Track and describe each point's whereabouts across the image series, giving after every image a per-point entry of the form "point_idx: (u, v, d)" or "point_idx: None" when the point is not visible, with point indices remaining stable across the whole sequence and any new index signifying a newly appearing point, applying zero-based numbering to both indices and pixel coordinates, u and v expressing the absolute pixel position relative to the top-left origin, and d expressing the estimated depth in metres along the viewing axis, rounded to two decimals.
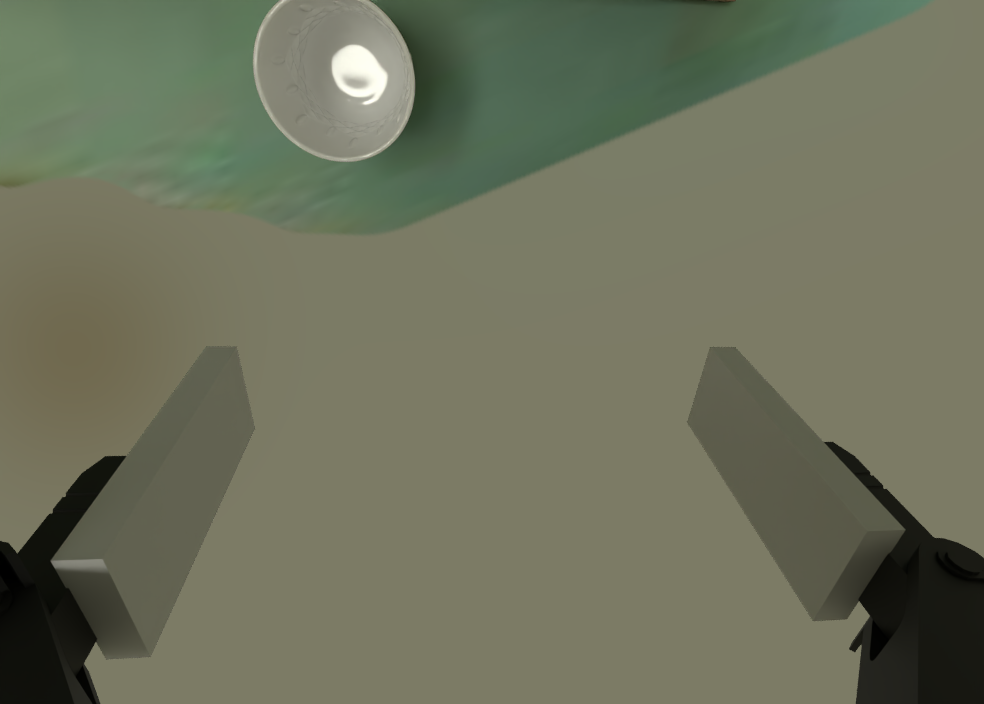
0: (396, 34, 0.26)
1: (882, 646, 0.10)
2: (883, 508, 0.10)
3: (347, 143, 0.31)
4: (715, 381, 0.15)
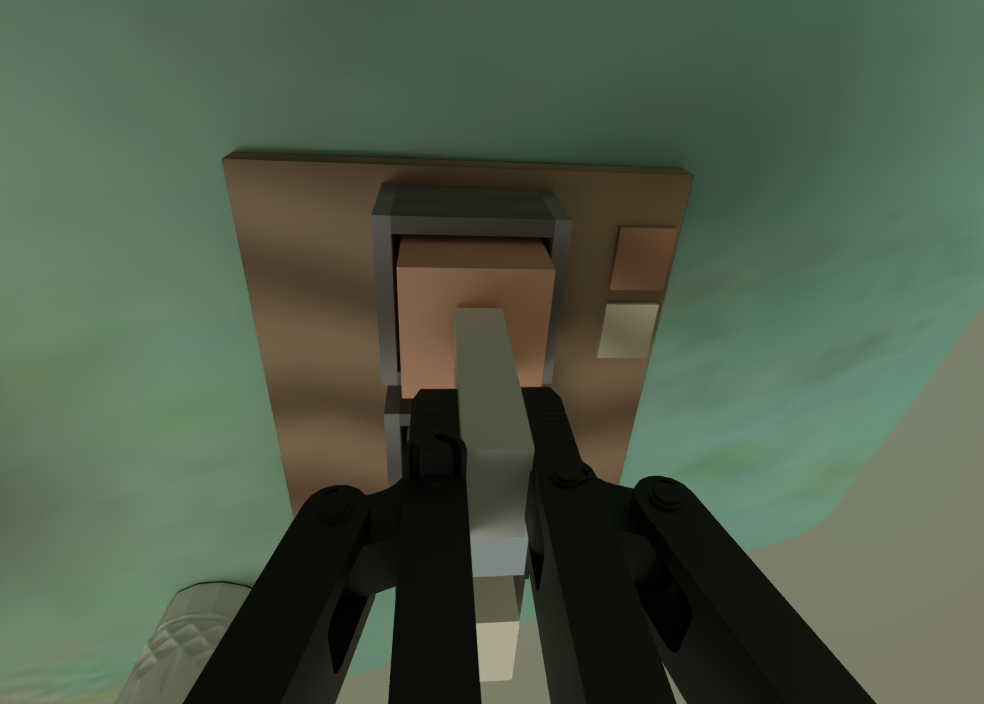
0: None
1: (542, 569, 0.11)
2: (528, 432, 0.11)
3: None
4: None
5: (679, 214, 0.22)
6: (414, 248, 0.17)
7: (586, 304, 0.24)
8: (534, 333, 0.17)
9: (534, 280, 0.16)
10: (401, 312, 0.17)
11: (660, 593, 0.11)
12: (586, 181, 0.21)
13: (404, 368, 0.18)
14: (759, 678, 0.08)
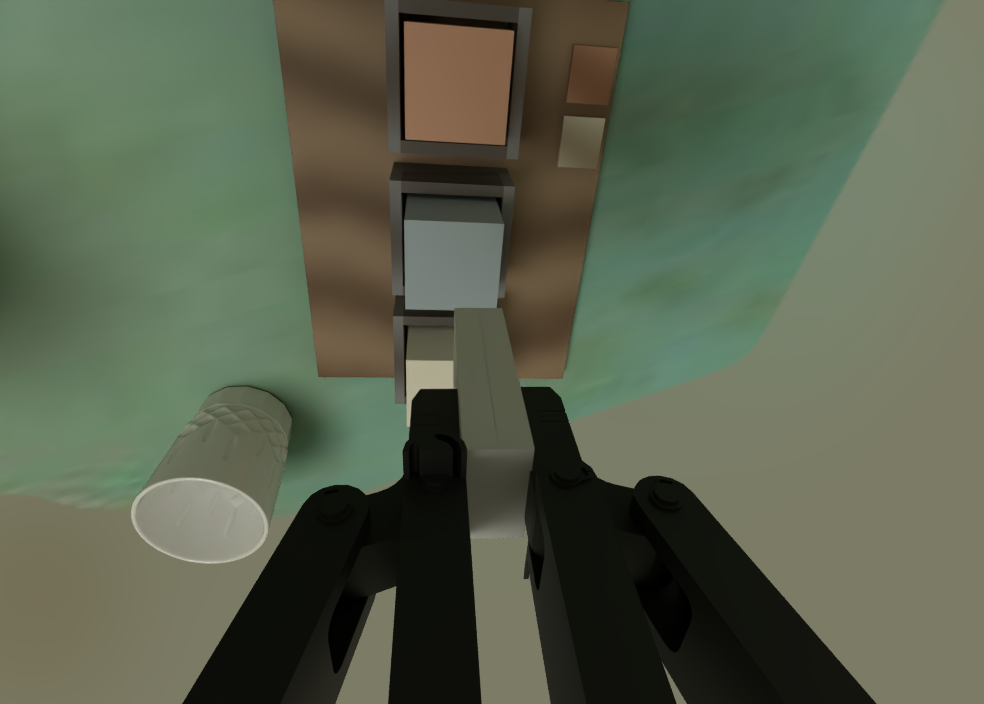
0: (247, 498, 0.32)
1: (542, 569, 0.11)
2: (528, 432, 0.11)
3: (224, 524, 0.37)
4: None
5: (619, 37, 0.29)
6: (416, 21, 0.24)
7: (548, 117, 0.30)
8: (500, 86, 0.25)
9: (499, 39, 0.24)
10: (406, 61, 0.24)
11: (660, 593, 0.11)
12: (547, 3, 0.28)
13: (407, 112, 0.25)
14: (759, 678, 0.08)
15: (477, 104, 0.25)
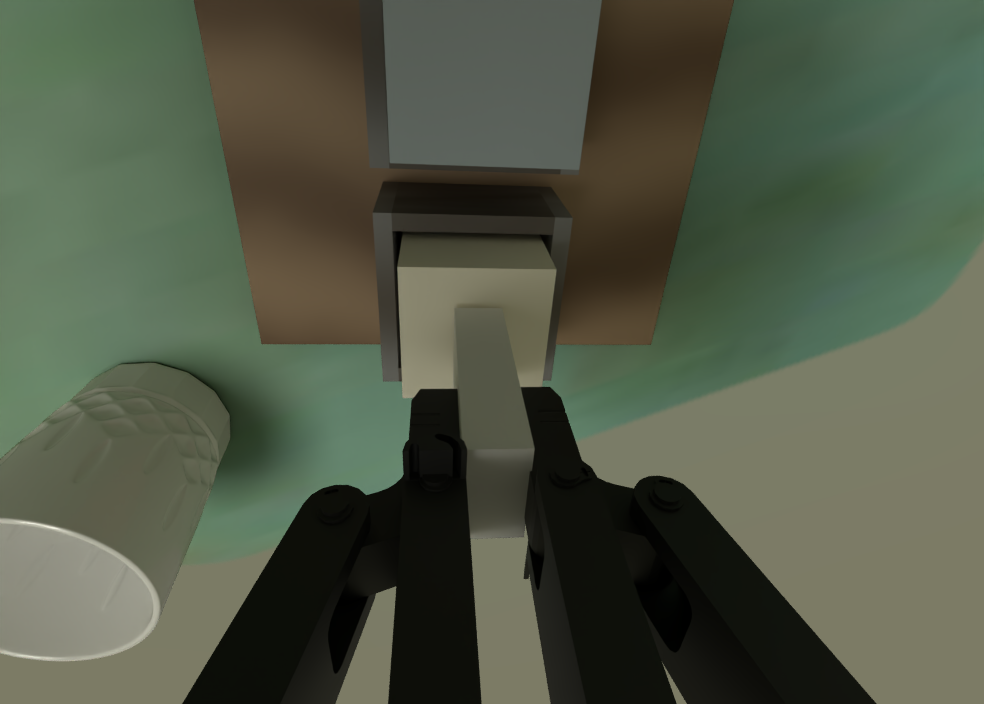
0: (111, 553, 0.18)
1: (541, 569, 0.11)
2: (528, 432, 0.11)
3: (106, 588, 0.23)
4: None
5: None
6: None
7: None
8: None
9: None
10: None
11: (660, 593, 0.11)
12: None
13: None
14: (759, 678, 0.08)
15: None
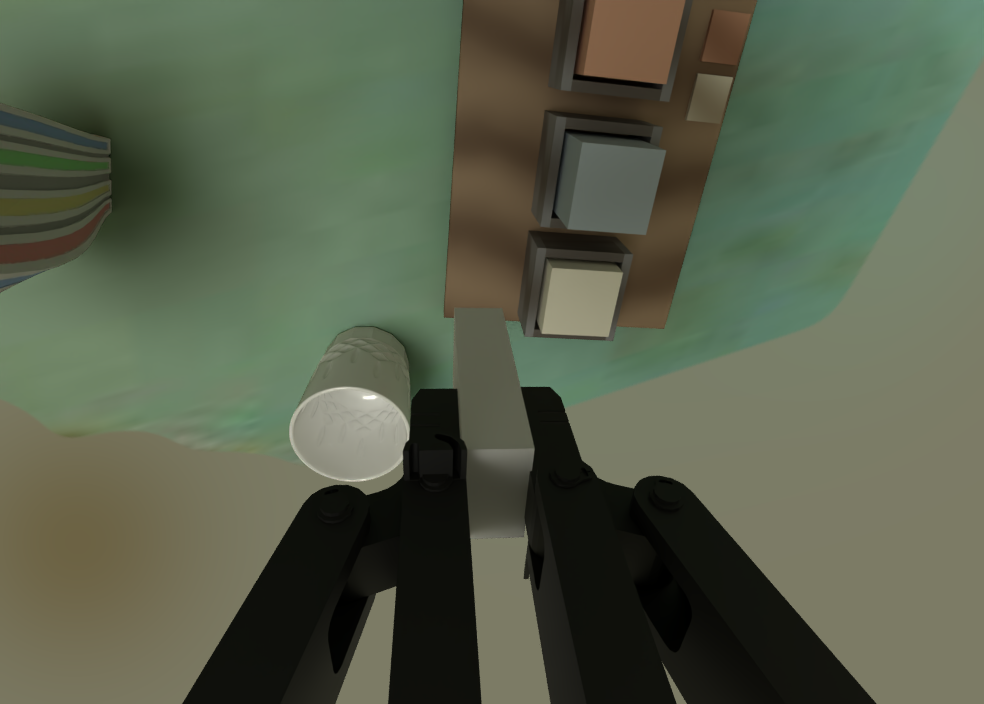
0: (398, 411, 0.35)
1: (542, 569, 0.11)
2: (528, 432, 0.11)
3: (355, 451, 0.40)
4: None
5: (752, 4, 0.33)
6: None
7: (683, 74, 0.35)
8: (670, 30, 0.29)
9: None
10: (596, 4, 0.28)
11: (660, 593, 0.11)
12: None
13: (589, 50, 0.29)
14: (759, 678, 0.08)
15: (649, 46, 0.29)
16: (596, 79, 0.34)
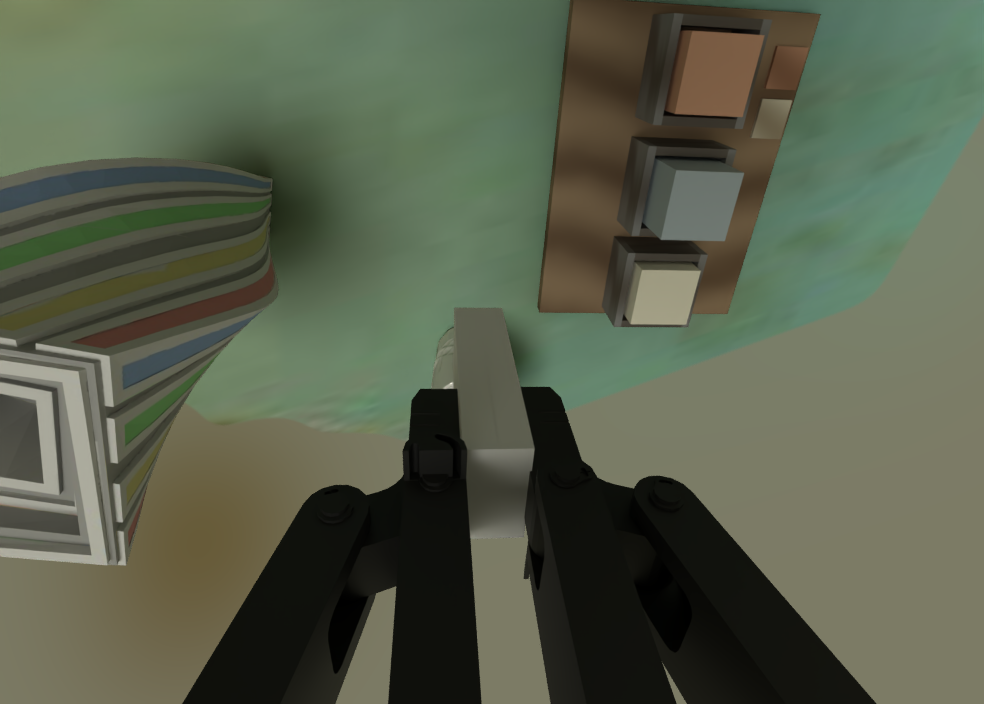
0: None
1: (542, 569, 0.11)
2: (528, 432, 0.11)
3: None
4: None
5: (810, 39, 0.39)
6: None
7: (749, 100, 0.41)
8: (747, 74, 0.35)
9: (753, 41, 0.34)
10: (688, 57, 0.34)
11: (660, 593, 0.11)
12: (761, 16, 0.38)
13: (680, 94, 0.35)
14: (759, 677, 0.08)
15: (729, 87, 0.35)
16: None
